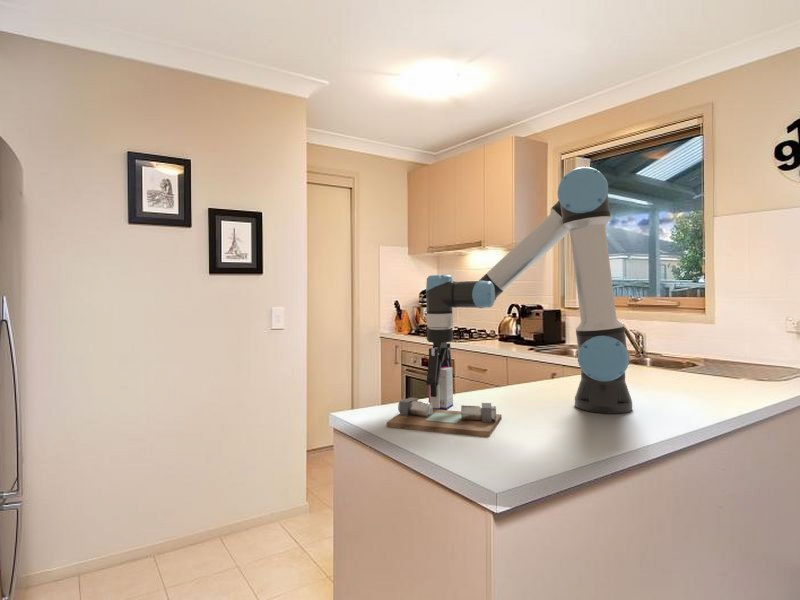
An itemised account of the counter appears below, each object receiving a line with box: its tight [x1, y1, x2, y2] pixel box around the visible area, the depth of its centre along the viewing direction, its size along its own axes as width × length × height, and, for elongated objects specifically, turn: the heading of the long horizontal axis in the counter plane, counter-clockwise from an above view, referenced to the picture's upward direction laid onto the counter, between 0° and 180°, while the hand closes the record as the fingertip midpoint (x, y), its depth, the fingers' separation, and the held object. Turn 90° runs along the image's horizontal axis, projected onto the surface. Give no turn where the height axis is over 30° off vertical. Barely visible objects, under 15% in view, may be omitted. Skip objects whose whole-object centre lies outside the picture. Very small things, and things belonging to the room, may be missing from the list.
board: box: [386, 409, 503, 438], centre depth 128 cm, size 26×16×1 cm, turn 68°
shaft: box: [397, 397, 433, 417], centre depth 131 cm, size 9×5×4 cm, turn 57°
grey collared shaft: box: [460, 402, 497, 423], centre depth 125 cm, size 9×5×4 cm, turn 80°
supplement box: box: [427, 366, 454, 410], centre depth 144 cm, size 6×6×12 cm
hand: (440, 402), depth 145 cm, fingers open, 11 cm apart
